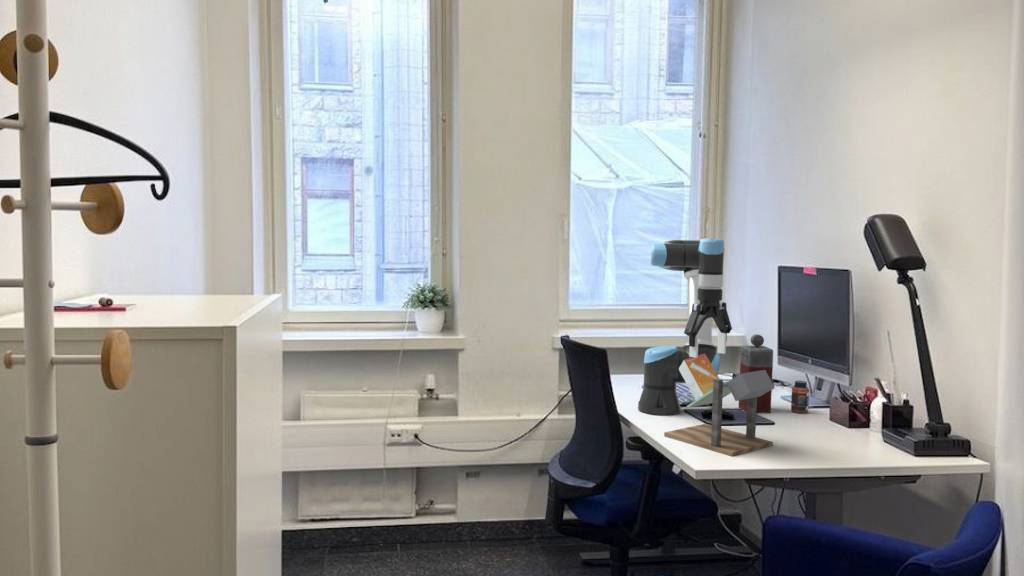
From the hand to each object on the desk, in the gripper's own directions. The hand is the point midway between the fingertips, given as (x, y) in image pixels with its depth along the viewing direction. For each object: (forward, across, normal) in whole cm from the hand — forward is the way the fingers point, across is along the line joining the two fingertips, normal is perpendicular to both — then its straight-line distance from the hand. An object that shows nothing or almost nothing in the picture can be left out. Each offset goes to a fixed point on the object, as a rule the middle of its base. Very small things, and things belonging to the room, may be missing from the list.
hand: (707, 355), depth 241 cm
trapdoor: (+14, 0, +11) cm, 18 cm away
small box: (+13, 0, +2) cm, 13 cm away
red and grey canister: (+27, -46, -15) cm, 55 cm away
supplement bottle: (+27, -57, -3) cm, 63 cm away
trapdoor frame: (+26, 0, +5) cm, 27 cm away
